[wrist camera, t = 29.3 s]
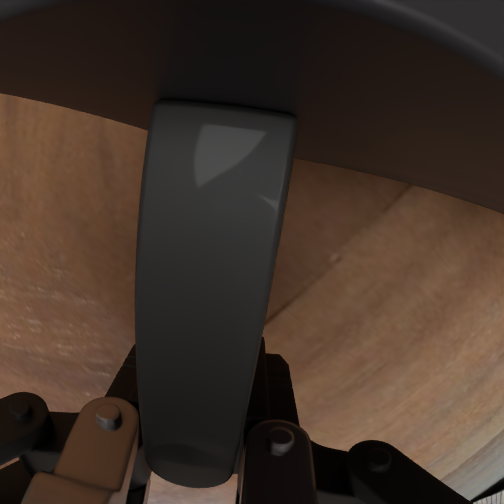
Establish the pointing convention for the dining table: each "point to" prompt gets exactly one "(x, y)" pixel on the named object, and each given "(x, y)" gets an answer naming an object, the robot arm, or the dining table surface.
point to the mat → (492, 498)
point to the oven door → (254, 158)
